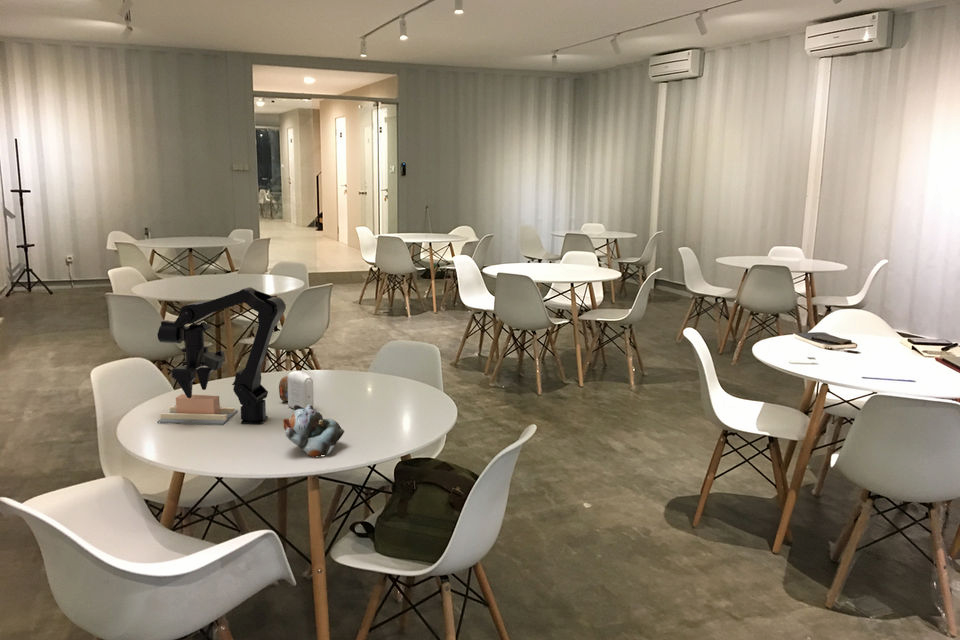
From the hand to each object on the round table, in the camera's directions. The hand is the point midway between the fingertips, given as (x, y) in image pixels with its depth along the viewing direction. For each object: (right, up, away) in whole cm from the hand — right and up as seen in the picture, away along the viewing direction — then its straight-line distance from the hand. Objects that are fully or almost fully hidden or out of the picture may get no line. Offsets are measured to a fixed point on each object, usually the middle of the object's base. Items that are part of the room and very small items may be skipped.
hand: (196, 393), depth 234 cm
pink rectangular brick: (0, -7, +1) cm, 7 cm away
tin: (+23, -4, +24) cm, 34 cm away
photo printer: (+29, -6, +12) cm, 32 cm away
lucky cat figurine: (+41, -13, -24) cm, 50 cm away
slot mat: (0, -7, +1) cm, 8 cm away
